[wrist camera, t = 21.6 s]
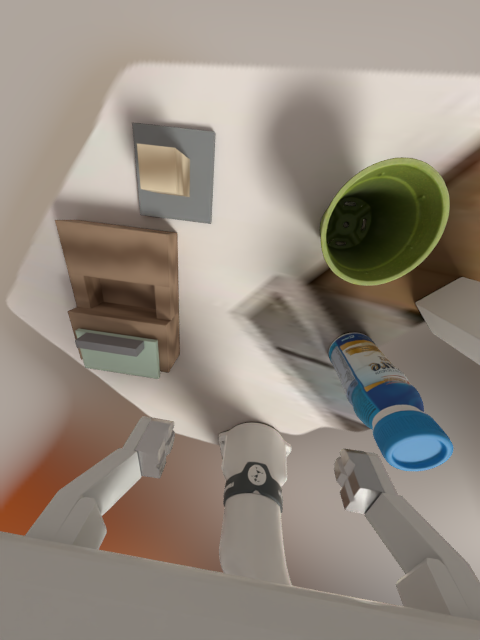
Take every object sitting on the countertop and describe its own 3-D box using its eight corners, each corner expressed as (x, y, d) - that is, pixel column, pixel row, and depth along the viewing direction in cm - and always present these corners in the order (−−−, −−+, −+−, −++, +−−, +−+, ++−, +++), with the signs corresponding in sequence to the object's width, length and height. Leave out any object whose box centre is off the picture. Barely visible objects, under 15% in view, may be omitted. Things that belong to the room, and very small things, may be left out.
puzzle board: (179, 354, 45) (168, 372, 39) (102, 342, 45) (81, 359, 40) (177, 232, 34) (161, 235, 29) (76, 219, 35) (42, 220, 29)
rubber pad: (211, 223, 33) (210, 223, 32) (143, 214, 33) (140, 214, 33) (215, 133, 28) (214, 131, 27) (135, 124, 29) (132, 122, 28)
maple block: (189, 197, 31) (176, 193, 26) (159, 193, 31) (140, 188, 26) (189, 159, 29) (175, 147, 24) (157, 155, 29) (136, 143, 24)
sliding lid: (160, 376, 40) (152, 388, 37) (88, 365, 40) (74, 376, 37) (157, 340, 36) (148, 351, 33) (78, 328, 37) (62, 338, 34)
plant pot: (292, 204, 31) (306, 198, 21) (378, 159, 28) (444, 127, 18) (316, 277, 35) (337, 301, 25) (393, 245, 32) (454, 258, 22)
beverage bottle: (317, 352, 41) (359, 454, 24) (351, 322, 38) (431, 415, 20) (348, 374, 43) (409, 486, 25) (383, 347, 40) (483, 454, 22)
